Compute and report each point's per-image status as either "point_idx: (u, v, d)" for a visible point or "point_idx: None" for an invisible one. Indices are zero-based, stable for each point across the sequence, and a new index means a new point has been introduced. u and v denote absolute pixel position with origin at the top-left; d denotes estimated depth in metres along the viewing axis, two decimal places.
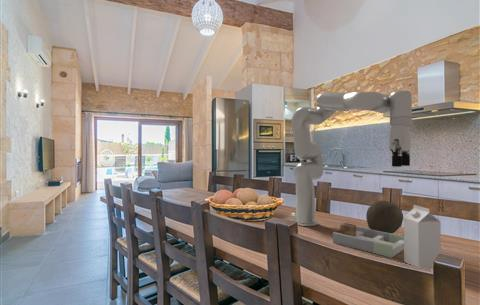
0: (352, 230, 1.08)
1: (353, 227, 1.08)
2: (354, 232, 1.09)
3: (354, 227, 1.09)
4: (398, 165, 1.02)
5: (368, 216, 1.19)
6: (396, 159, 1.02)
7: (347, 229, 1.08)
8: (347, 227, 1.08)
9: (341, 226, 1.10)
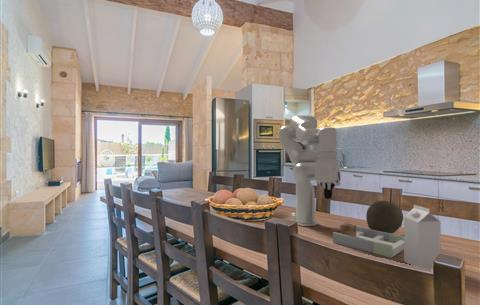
0: (352, 230, 1.08)
1: (353, 227, 1.08)
2: (354, 232, 1.09)
3: (354, 227, 1.09)
4: (330, 197, 1.16)
5: (368, 216, 1.19)
6: (331, 192, 1.16)
7: (347, 229, 1.08)
8: (347, 227, 1.08)
9: (341, 226, 1.10)
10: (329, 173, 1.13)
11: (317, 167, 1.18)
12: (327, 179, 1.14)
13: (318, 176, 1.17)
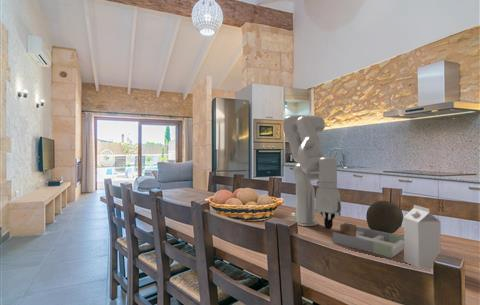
0: (352, 230, 1.08)
1: (353, 227, 1.08)
2: (354, 232, 1.09)
3: (354, 227, 1.09)
4: (330, 227, 1.16)
5: (368, 216, 1.19)
6: (331, 222, 1.15)
7: (347, 229, 1.08)
8: (347, 227, 1.08)
9: (341, 226, 1.10)
10: (329, 203, 1.13)
11: (317, 196, 1.17)
12: (327, 209, 1.14)
13: (318, 206, 1.17)
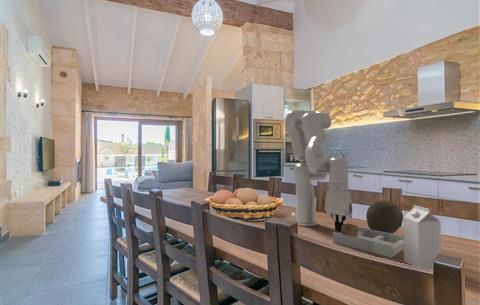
0: (353, 230, 1.07)
1: (354, 227, 1.08)
2: (355, 232, 1.08)
3: (355, 227, 1.08)
4: (341, 229, 1.13)
5: (368, 216, 1.19)
6: (342, 224, 1.12)
7: (348, 229, 1.07)
8: (348, 227, 1.07)
9: (342, 226, 1.09)
10: (340, 206, 1.09)
11: (327, 198, 1.14)
12: (338, 212, 1.10)
13: (329, 208, 1.13)
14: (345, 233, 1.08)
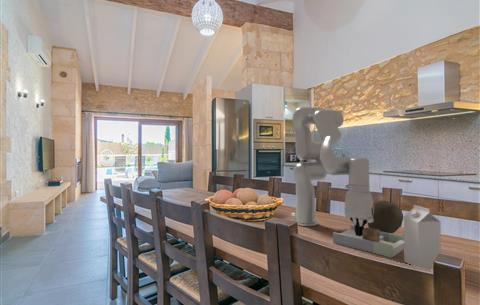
0: (376, 235, 1.01)
1: (377, 232, 1.01)
2: (378, 237, 1.02)
3: (378, 232, 1.02)
4: (362, 234, 1.06)
5: None
6: None
7: (370, 234, 1.01)
8: (370, 232, 1.01)
9: (364, 231, 1.03)
10: (361, 209, 1.03)
11: (347, 201, 1.07)
12: (359, 215, 1.04)
13: (348, 211, 1.07)
14: (367, 238, 1.02)
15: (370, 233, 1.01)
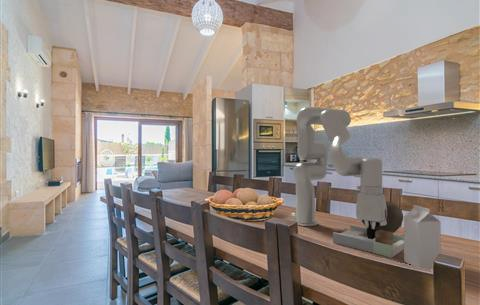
0: (389, 238, 0.97)
1: (390, 235, 0.98)
2: (391, 240, 0.98)
3: (391, 235, 0.98)
4: (374, 237, 1.03)
5: None
6: (375, 231, 1.02)
7: (384, 237, 0.98)
8: (384, 235, 0.98)
9: (376, 233, 0.99)
10: (374, 211, 0.99)
11: (359, 202, 1.04)
12: (372, 217, 1.00)
13: (360, 213, 1.03)
14: (380, 241, 0.99)
15: (383, 236, 0.98)
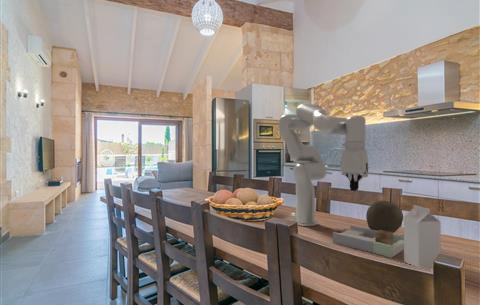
0: (389, 238, 0.97)
1: (390, 235, 0.98)
2: (391, 240, 0.98)
3: (391, 235, 0.98)
4: (356, 189, 1.12)
5: (368, 216, 1.19)
6: (357, 184, 1.11)
7: (384, 237, 0.98)
8: (384, 235, 0.98)
9: (376, 233, 0.99)
10: (356, 164, 1.08)
11: (343, 158, 1.13)
12: (354, 170, 1.09)
13: (344, 167, 1.12)
14: (380, 241, 0.99)
15: (383, 236, 0.98)
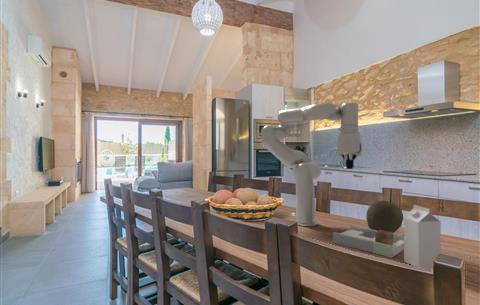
0: (389, 238, 0.97)
1: (390, 235, 0.98)
2: (391, 240, 0.98)
3: (391, 235, 0.98)
4: (352, 167, 1.26)
5: (368, 216, 1.19)
6: (353, 163, 1.25)
7: (384, 237, 0.98)
8: (384, 235, 0.98)
9: (376, 233, 0.99)
10: (351, 144, 1.22)
11: (339, 140, 1.27)
12: (349, 150, 1.23)
13: (340, 148, 1.26)
14: (380, 241, 0.99)
15: (383, 236, 0.98)
